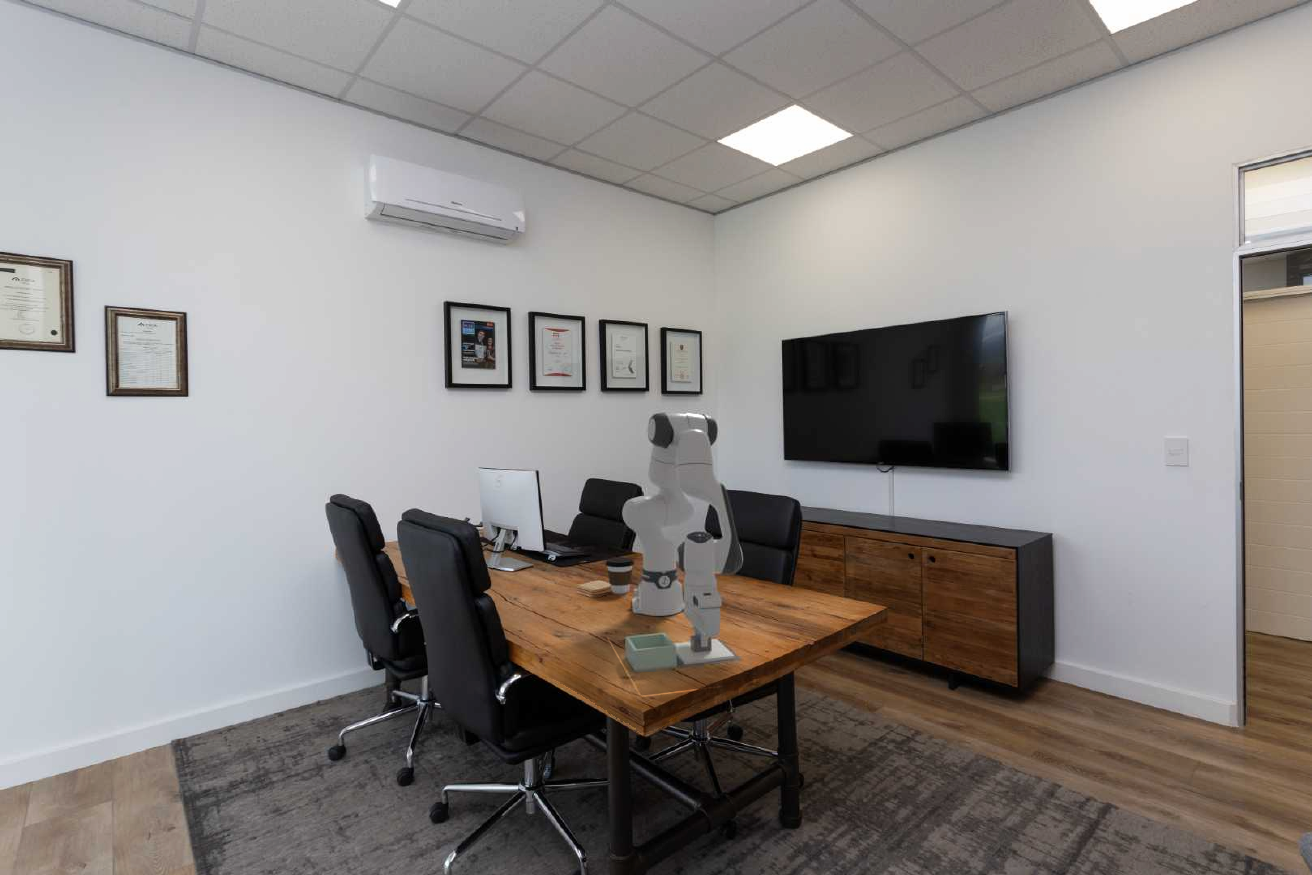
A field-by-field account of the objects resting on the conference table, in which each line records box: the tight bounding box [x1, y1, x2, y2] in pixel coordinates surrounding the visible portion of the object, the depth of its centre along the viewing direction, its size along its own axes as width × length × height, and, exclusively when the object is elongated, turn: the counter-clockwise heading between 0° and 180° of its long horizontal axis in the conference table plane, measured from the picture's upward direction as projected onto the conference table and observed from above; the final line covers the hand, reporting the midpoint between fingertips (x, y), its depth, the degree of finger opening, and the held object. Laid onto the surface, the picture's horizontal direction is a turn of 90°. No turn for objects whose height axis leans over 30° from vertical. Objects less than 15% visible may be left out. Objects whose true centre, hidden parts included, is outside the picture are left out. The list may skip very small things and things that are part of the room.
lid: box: [673, 635, 735, 665], centre depth 177 cm, size 14×14×4 cm
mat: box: [676, 639, 743, 668], centre depth 177 cm, size 17×17×1 cm
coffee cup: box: [604, 556, 635, 595], centre depth 243 cm, size 11×11×12 cm
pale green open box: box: [624, 632, 678, 674], centre depth 170 cm, size 11×11×6 cm
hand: (701, 643), depth 177 cm, fingers closed on lid, 3 cm apart
